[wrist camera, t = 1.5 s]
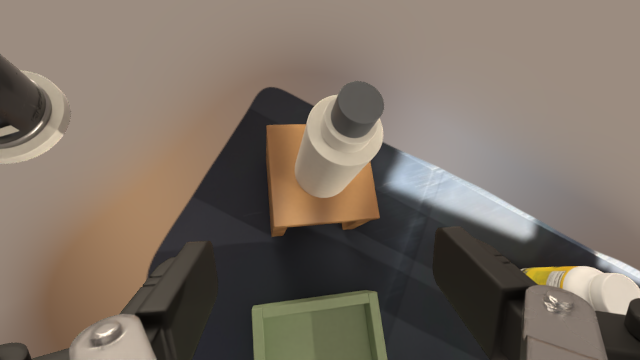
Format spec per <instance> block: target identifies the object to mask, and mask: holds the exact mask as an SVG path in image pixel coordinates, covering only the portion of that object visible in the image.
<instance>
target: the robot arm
mask: <svg viewBox="0 0 640 360" xmlns="http://www.w3.org/2000/svg"><path fill="white" fill-rule="evenodd" d="M51 113H52V104H51V100H50V97H49V95H48V94H47V93H46V91H45V90H44V89H43V88H42V87H40V86H39V85H38V84H37V83H35V82H34V81H32V80H31V79H29V78H28V77H27V76H26V75H25V74H23V73H22V72H21V71H20V70H19V69H18V68H16V67H15V66H14V65H13V64H12V63H10V62H9V61H8V60H7V59H6V58H4V57H3V56H2V55H1V54H0V149H6V148H11V147H15V146H19V145H21V144H24V143H26V142H28V141H30V140H31V139H33V138H34V137H36V136H37V135H38V134H39V133H40V132H41V131H42V130H43V129H44V128H45V126H46V125H47V123H48V122H49V119H50V117H51ZM433 275H434V278H435V281H436V283H437V285H438V286H439V288H440V289H441V291H442V292H443V294H444V295H445V296H446V298H447V299H448V301H449V302H450V303H451V305H452V306H453V308H454V309H455V311H456V312H457V313H458V315H459V316H460V318H461V319H462V321H463V322H464V323H465V325H466V326H467V328H468V329H469V331H470V332H471V333H472V335H473V336H474V338H475V339H476V341H477V342H478V343H479V345H480V346H481V348H482V349H483V351H484V352H485V353H486V355H487V356H488V358H489V359H490V360H640V298H636V299H633V300H631V301H630V303H629V306H628V310H627V313H626V315H623V314H616V313H609V312H602V311H595V310H594V309H593V307H592V306H591V305H590V304H589V303H588V302H587V301H586V300H584V299H583V298H581V297H580V296H578V295H576V294H574V293H572V292H570V291H567V290H564V289H561V288H558V287H554V286H548V285H538V284H537V283H536V282H534V281H533V280H532V279H531V278H530V277H528V276H527V275H526V274H525V273H524V272H522V271H521V270H520V269H519V268H517V267H516V266H515V265H514V264H513V263H512V264H511V263H510V261H509V260H508V259H507V258H505V257H504V256H502V254H500V253H499V252H498V251H497V250H496V249H494V248H493V247H492V246H490V245H488V244H486V243H484V242H482V241H480V240H478V239H474V238H473V237H472V236H471V235H470V234H469V233H467V232H466V231H465V230H464V229H463V228H461V227H443V228H438V229H437V230H436V234H435V244H434V257H433ZM217 293H218V278H217V271H216V265H215V258H214V251H213V246H212V243H211V242H210V241H200V242H187V243H186V244H185V245H184V247H183V248H182V250H181V251H180V252H179V254H178V255H177V256H176V257H171V258H169V259H168V260H166V261H165V262H163V263H162V264H160V265H159V266H158V267H157V268H156V269H155V270H154V272H153V273H152V274H151V275H150V278H149V279H147V280H146V282H145V283H144V284H143V287H141V288H140V289H139V290H138V291H137V293H136V294H135V295H134V297H133V298H132V299H131V300H130V301H129V303H128V304H127V305H126V306H125V308H124V309H123V310H122V311H121V313H120V314H119V315H116V316H112V317H108V318H105V319H103V320H100V321H98V322H96V323H95V324H93V325H91V326H90V327H88V328H86V329H85V330H84V331H82V332H81V333H80V334H79V335H78V336H77V337H76V338H75V339H74V340H73V342H72V344H71V346H70V348H68V349H64V350H61V351H58V352H54V353H50V354H47V355H43V356H40V357H36V358H33V359H31V356H30V354H29V351H28V349H27V347H26V346H25V345H24V344H21V343H8V344H3V345H0V360H192V358H193V355H194V353H195V350H196V348H197V345H198V343H199V340H200V338H201V335H202V333H203V330H204V328H205V325H206V323H207V320H208V318H209V315H210V313H211V310H212V308H213V305H214V303H215V300H216V297H217Z"/></svg>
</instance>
